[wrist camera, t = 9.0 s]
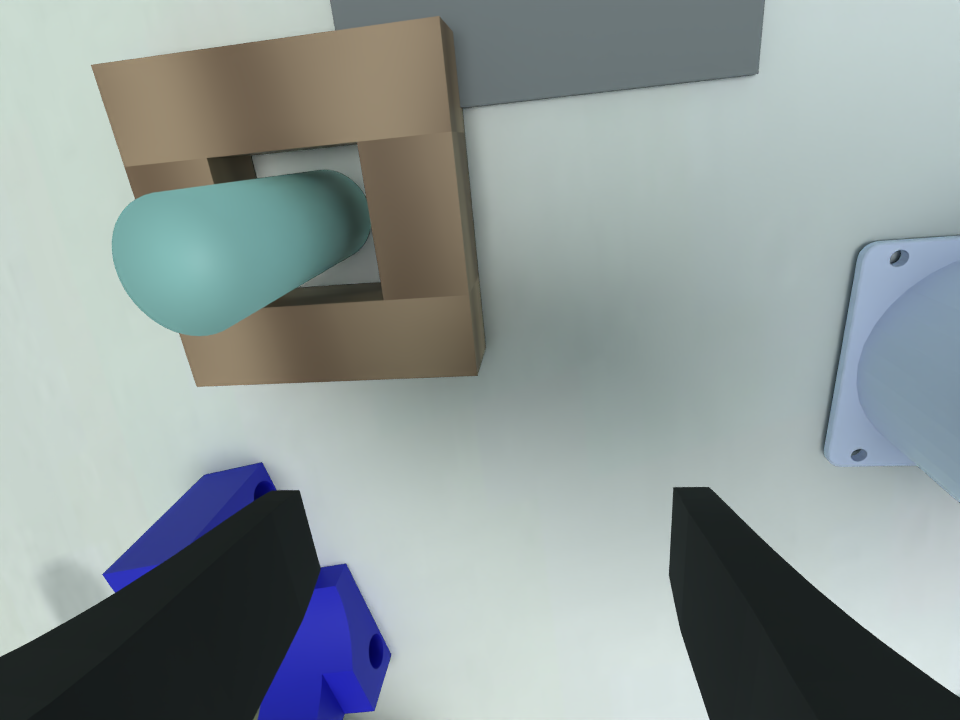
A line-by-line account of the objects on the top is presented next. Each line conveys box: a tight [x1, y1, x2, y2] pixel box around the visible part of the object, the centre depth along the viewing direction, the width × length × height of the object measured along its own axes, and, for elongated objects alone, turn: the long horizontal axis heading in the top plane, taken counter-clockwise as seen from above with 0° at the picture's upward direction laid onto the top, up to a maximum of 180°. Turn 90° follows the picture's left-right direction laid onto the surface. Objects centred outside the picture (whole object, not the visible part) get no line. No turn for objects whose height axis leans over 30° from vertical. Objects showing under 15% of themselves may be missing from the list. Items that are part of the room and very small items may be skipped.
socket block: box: [91, 16, 486, 387], centre depth 17 cm, size 10×10×2 cm
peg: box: [112, 170, 371, 336], centre depth 15 cm, size 3×3×8 cm
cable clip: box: [102, 462, 391, 720], centre depth 22 cm, size 12×4×6 cm, turn 17°
